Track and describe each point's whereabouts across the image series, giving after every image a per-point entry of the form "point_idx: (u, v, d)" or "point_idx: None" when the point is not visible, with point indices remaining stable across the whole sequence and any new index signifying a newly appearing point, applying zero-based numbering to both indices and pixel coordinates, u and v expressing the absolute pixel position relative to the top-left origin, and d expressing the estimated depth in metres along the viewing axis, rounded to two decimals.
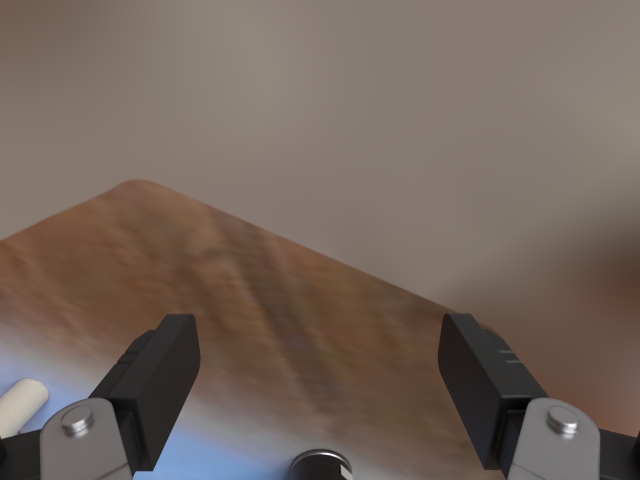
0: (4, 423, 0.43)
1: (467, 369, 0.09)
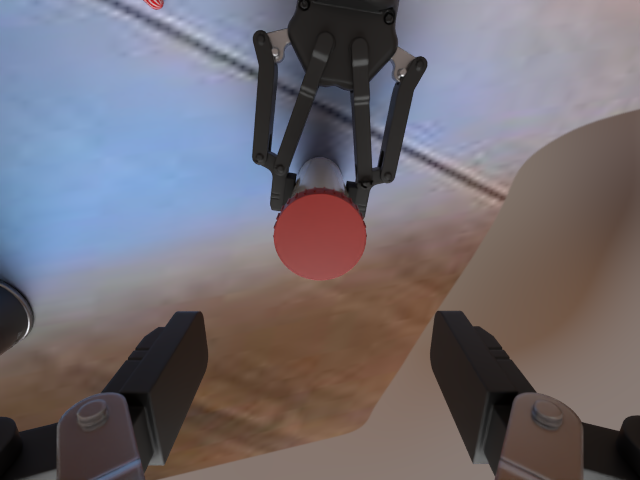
0: None
1: (457, 365, 0.10)
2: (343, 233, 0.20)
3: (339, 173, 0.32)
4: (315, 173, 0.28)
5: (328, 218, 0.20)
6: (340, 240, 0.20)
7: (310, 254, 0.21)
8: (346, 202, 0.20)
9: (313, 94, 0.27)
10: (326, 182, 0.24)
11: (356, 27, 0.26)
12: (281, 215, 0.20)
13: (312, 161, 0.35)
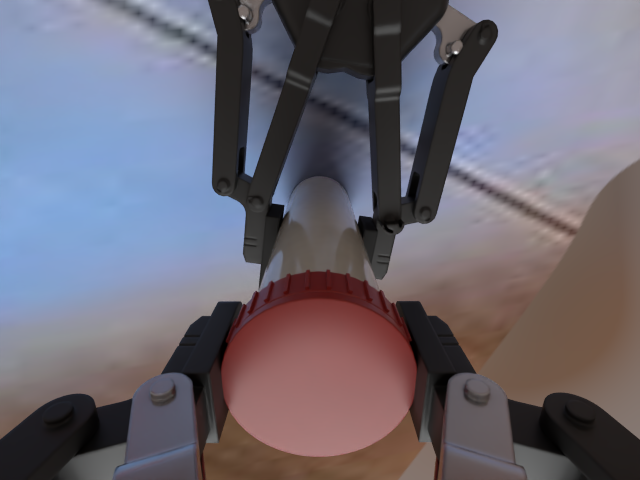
0: None
1: None
2: (369, 375, 0.09)
3: (348, 204, 0.22)
4: (311, 213, 0.17)
5: (337, 346, 0.09)
6: (362, 387, 0.10)
7: (299, 412, 0.10)
8: (378, 315, 0.09)
9: (308, 83, 0.17)
10: (330, 240, 0.13)
11: None
12: (234, 341, 0.09)
13: (308, 184, 0.24)
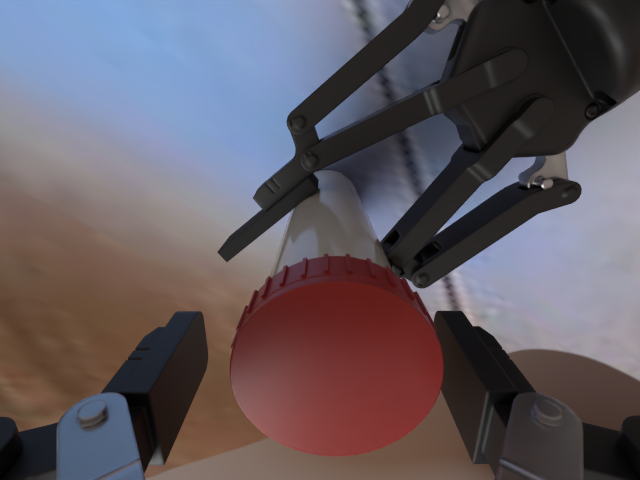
0: None
1: (457, 365, 0.10)
2: (375, 342, 0.08)
3: None
4: (357, 210, 0.16)
5: (324, 333, 0.08)
6: (379, 358, 0.09)
7: (339, 412, 0.09)
8: (337, 283, 0.08)
9: (437, 111, 0.17)
10: (381, 249, 0.13)
11: (554, 84, 0.17)
12: (233, 380, 0.09)
13: (341, 178, 0.24)
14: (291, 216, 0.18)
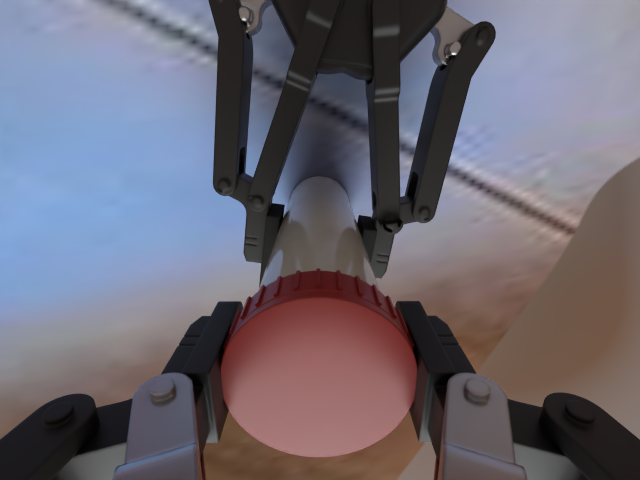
0: None
1: None
2: (317, 341, 0.09)
3: (348, 204, 0.22)
4: (311, 212, 0.17)
5: (276, 362, 0.09)
6: (332, 349, 0.09)
7: (348, 406, 0.10)
8: (247, 323, 0.09)
9: (308, 84, 0.17)
10: (330, 238, 0.14)
11: None
12: (254, 436, 0.10)
13: (308, 184, 0.24)
14: None
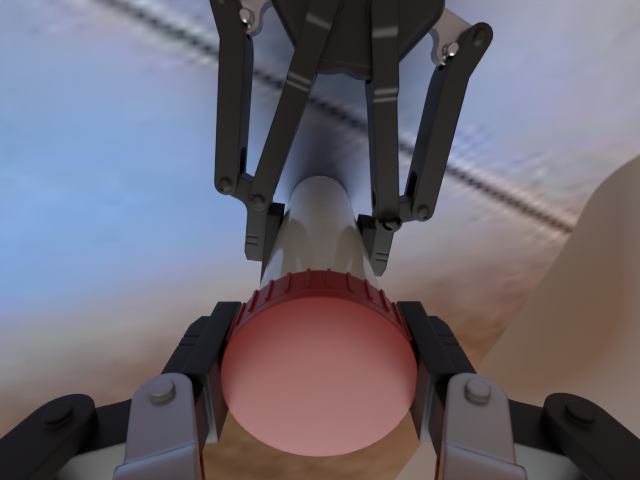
0: None
1: None
2: (267, 376, 0.09)
3: (347, 202, 0.22)
4: (311, 211, 0.17)
5: (285, 410, 0.10)
6: (279, 366, 0.09)
7: (353, 364, 0.09)
8: (240, 422, 0.10)
9: (308, 85, 0.17)
10: (329, 235, 0.14)
11: None
12: (367, 444, 0.10)
13: (308, 183, 0.24)
14: None
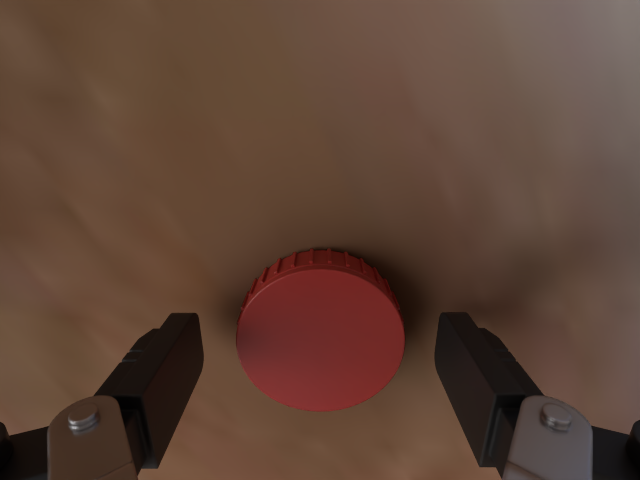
0: None
1: (462, 367, 0.09)
2: (277, 339, 0.11)
3: None
4: None
5: (291, 370, 0.11)
6: (287, 331, 0.11)
7: (350, 328, 0.11)
8: (252, 380, 0.12)
9: None
10: None
11: None
12: (362, 400, 0.12)
13: None
14: None
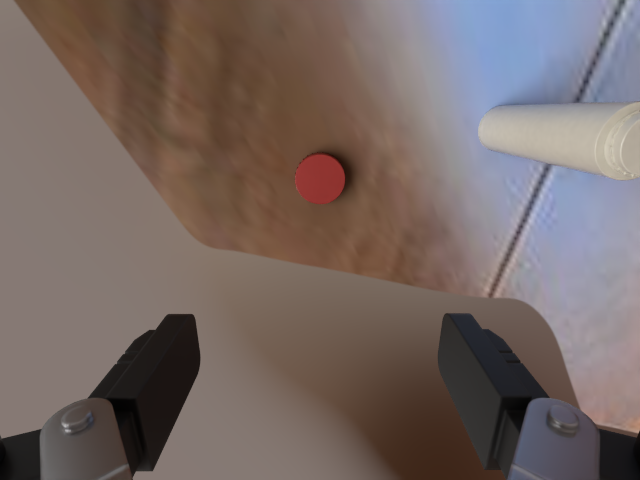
0: (509, 131, 0.31)
1: (467, 369, 0.09)
2: (307, 177, 0.38)
3: None
4: None
5: (311, 188, 0.38)
6: (310, 174, 0.37)
7: (328, 173, 0.37)
8: (299, 192, 0.38)
9: None
10: None
11: None
12: (333, 199, 0.38)
13: None
14: (550, 105, 0.28)
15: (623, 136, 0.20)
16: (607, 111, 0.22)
